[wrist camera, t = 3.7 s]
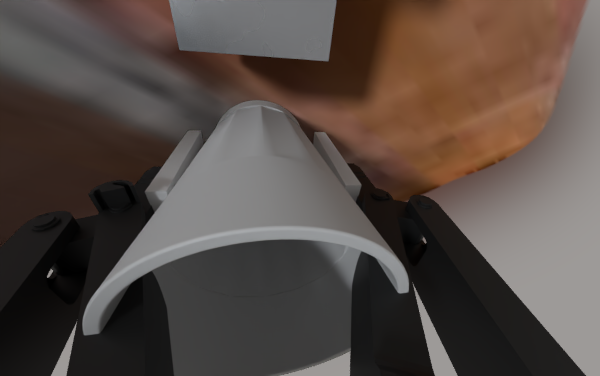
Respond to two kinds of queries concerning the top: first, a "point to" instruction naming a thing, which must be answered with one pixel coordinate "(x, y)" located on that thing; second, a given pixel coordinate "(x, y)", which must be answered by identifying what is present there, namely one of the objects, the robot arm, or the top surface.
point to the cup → (252, 253)
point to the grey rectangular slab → (256, 27)
